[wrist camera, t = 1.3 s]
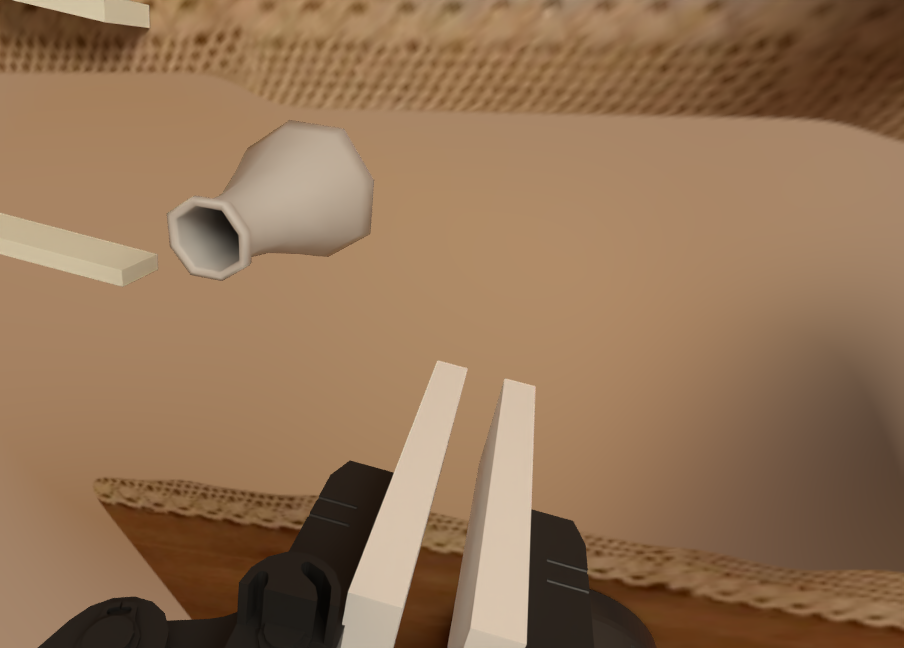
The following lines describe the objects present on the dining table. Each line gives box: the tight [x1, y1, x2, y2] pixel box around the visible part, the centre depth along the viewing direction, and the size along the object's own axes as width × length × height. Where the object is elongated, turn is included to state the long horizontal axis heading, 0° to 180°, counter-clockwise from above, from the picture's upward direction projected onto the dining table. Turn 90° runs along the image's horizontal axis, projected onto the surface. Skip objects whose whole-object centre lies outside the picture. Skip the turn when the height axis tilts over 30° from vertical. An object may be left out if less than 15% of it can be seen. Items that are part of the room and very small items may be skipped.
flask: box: [167, 120, 374, 281], centre depth 24 cm, size 7×7×10 cm
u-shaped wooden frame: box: [0, 0, 158, 287], centre depth 28 cm, size 14×14×3 cm
